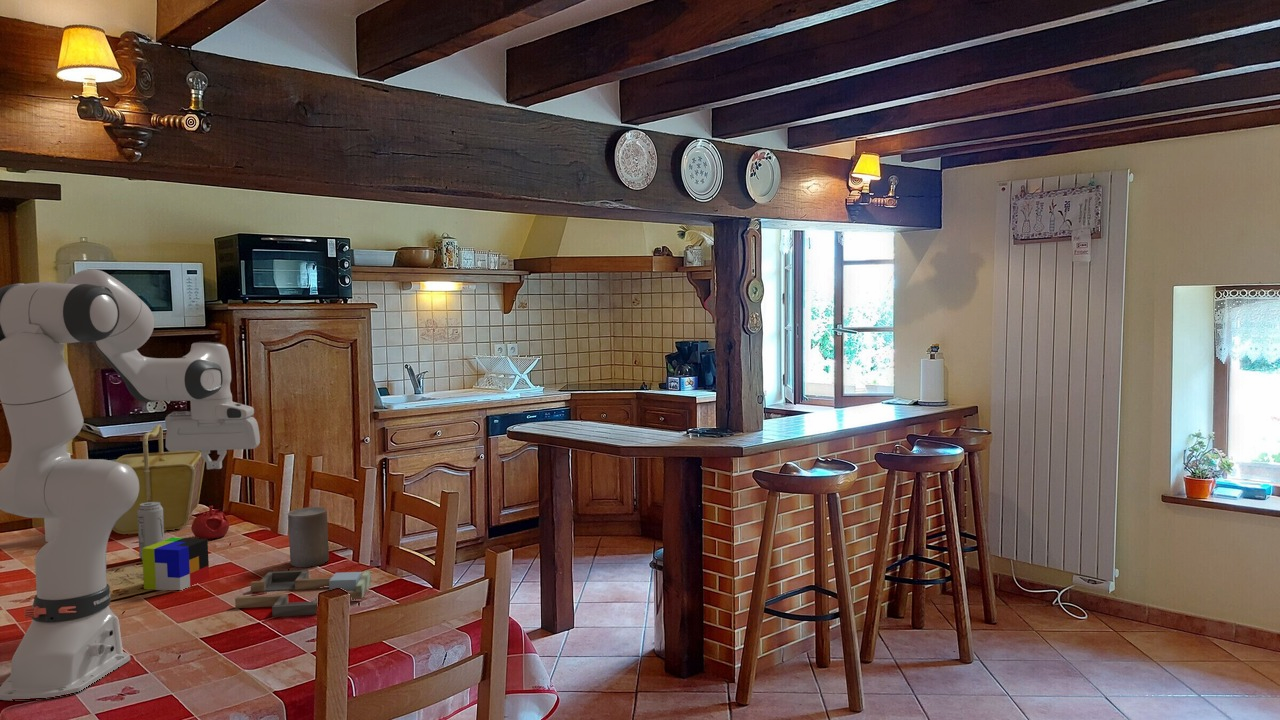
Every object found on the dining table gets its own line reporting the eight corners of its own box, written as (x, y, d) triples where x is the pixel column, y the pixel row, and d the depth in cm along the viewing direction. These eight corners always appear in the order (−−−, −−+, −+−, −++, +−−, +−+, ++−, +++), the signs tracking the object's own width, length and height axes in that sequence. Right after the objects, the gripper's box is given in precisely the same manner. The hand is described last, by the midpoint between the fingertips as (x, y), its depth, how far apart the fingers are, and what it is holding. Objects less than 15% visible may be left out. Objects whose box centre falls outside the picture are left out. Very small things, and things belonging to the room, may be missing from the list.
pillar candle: (334, 556, 234) (331, 501, 233) (322, 567, 224) (319, 509, 224) (297, 557, 234) (295, 502, 233) (284, 568, 224) (281, 511, 223)
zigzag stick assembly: (355, 612, 191) (355, 596, 191) (224, 619, 187) (224, 603, 187) (375, 575, 217) (375, 561, 217) (261, 581, 214) (260, 567, 213)
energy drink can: (163, 560, 233) (161, 504, 232) (137, 563, 230) (135, 507, 229) (166, 554, 238) (164, 500, 237) (141, 557, 236) (139, 502, 235)
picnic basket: (119, 517, 283) (115, 425, 281) (207, 509, 292) (204, 420, 290) (99, 539, 256) (94, 437, 254) (197, 530, 265) (193, 432, 263)
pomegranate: (184, 541, 253) (182, 509, 252) (210, 532, 262) (208, 501, 262) (212, 542, 250) (210, 510, 249) (237, 533, 259) (235, 502, 259)
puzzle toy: (180, 591, 207) (178, 550, 206) (143, 589, 209) (142, 548, 208) (209, 578, 216) (207, 539, 216) (174, 576, 218) (172, 537, 218)
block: (356, 598, 200) (355, 579, 200) (329, 599, 200) (329, 580, 200) (362, 590, 206) (361, 571, 206) (336, 591, 206) (335, 572, 206)
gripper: (159, 413, 200) (162, 473, 201) (252, 410, 203) (255, 469, 204) (170, 410, 206) (172, 468, 207) (260, 407, 209) (263, 464, 210)
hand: (214, 468), depth 206 cm, fingers closed
